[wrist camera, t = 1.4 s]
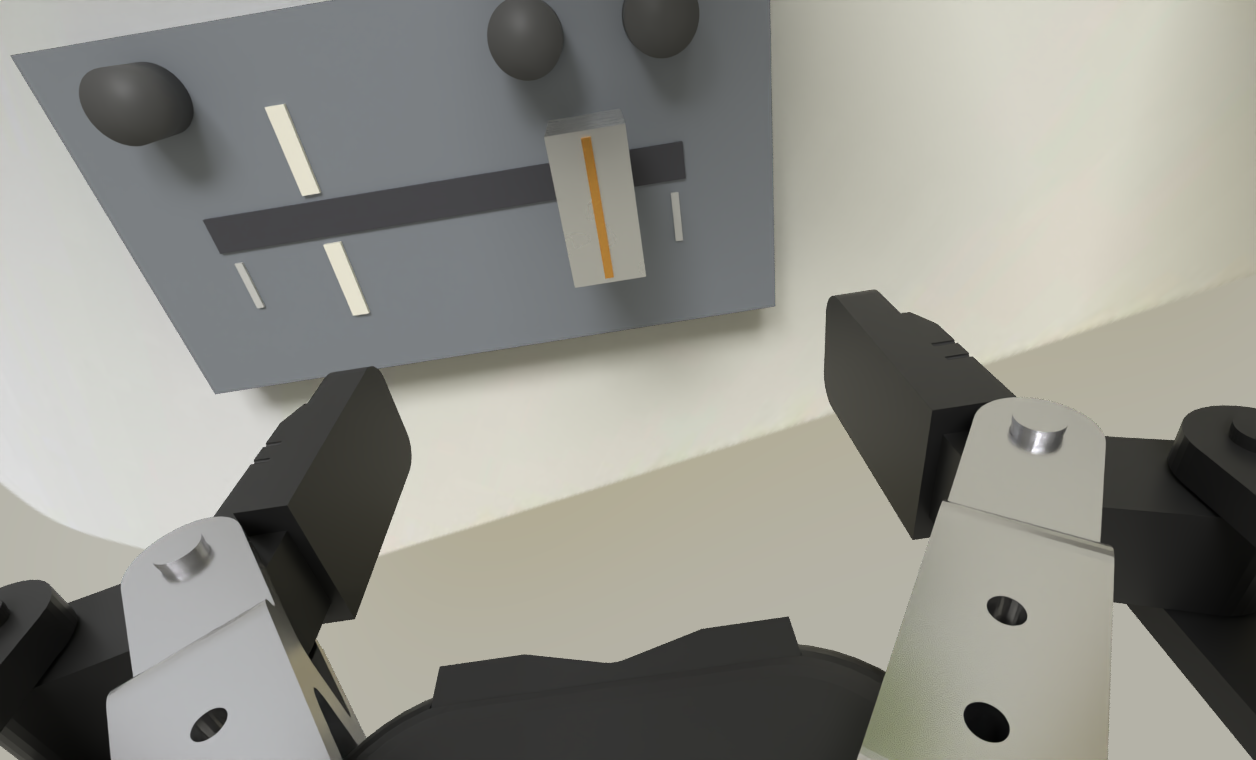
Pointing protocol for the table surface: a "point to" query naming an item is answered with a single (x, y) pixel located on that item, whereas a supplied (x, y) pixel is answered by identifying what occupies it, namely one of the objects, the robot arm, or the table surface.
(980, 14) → the table surface
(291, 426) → the robot arm
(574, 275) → the fader
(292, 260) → the console
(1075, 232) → the table surface
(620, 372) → the table surface
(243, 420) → the table surface
